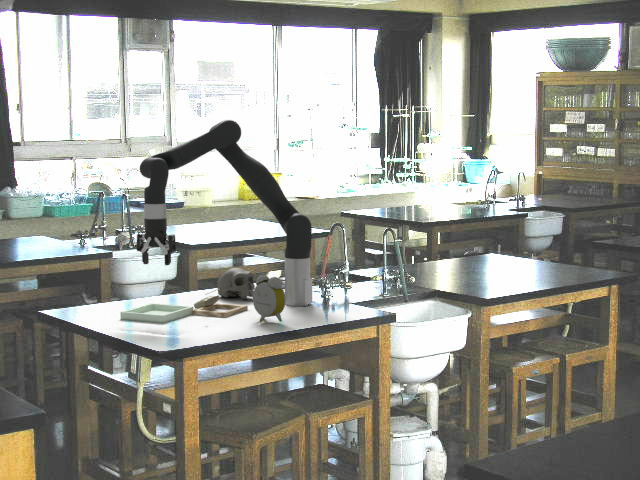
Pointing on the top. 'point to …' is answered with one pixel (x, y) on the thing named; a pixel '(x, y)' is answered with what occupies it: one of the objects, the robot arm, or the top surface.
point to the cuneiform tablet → (207, 301)
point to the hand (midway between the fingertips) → (156, 264)
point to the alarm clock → (269, 297)
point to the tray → (156, 313)
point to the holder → (234, 308)
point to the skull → (236, 283)
